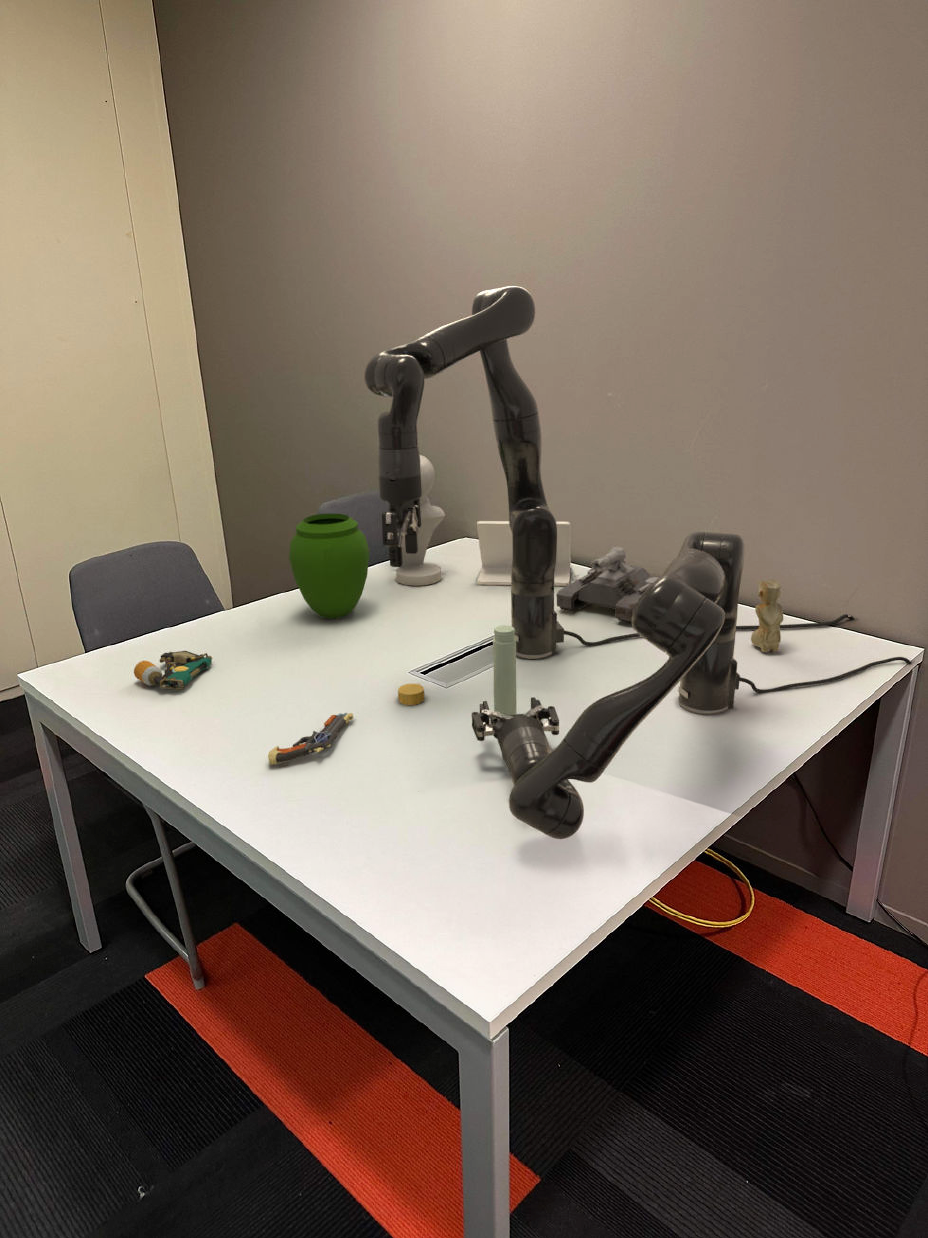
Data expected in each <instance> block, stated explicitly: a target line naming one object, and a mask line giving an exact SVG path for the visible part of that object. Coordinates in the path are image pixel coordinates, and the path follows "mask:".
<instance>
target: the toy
mask: <svg viewBox="0 0 928 1238" xmlns="http://www.w3.org/2000/svg"><path fill="white" fill-rule="evenodd" d="M626 557H627V556H626V551H625V549H624V548H622V547H621V546H614V547H612V548H611V549H610V550H609V552H608V553H607V554H605V555H604V556H601V557H599V558H598V559H597V557H596V558H594V559H593V560H592V561H590V562H589V563H590V564H591V565H592V567H591V568H590V569H589V570H587V573H586V575H584V576H582V577H580V578H578V579H577V580H575V581H573V582H570V583H569V585H567V586H563V587H562V588H560V589H559V590H558V591H557V592H556V607H558V608H559V609H560V610H562V611H566V612H572V613H575V612H577V611H579V610H581V609H582V608H585V607H586V606H588V605H592V606H598V607H602V608H603V607H604V608H609V609H613V610H614V618H615V619H617V620H618V621H621V622H626V623H631V618H632V613H633V610H634V607H635V605H636V603H637V601H638V600H639V598H640V597H641V595H642V594H643V593H644V591H645V590H646V589H647V588H648V587H649V586H650V585H651V584H652V583H653V582H655V581H656V580H657V579H658V578H660V577H661V576H662V575H656V576H655V577H654V576H651V574H650V573H649V572H648V571H647V570H646V568H644V567H641V566H635V565H629V564H628V563H627V562H626V561H625V559H626ZM631 624H632V623H631Z"/></svg>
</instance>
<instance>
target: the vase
mask: <svg viewBox="0 0 928 1238" xmlns="http://www.w3.org/2000/svg"><path fill="white" fill-rule="evenodd" d="M358 524H359V523H358V521H356V520H355V519H353V518H352V517H350V516H349V515H347V514H344V513H335V512H334V513H333V512H331V513H320V514H313V515H310V516H307V517H305V518H303V519H302V520H301V521H300V522H299V523H298V524H297V525H296V526H295V532H296V533H295V534H294V536H293V537H292V538H291V540H290V542H289V551H288V559H289V564H290V566H291V567H290V568H291V570H292V575H293V578H294V581H295V584H296V586H297V587H298V589H299V591H300V593H301V596H302V597H303V600H304V601H305V603H306V604H307V605H308V607H309V608H310V609H311V611H312V612H314V613H315V614H316V615H317V616H318V617H320V618H324V619H326V620H327V619H329V620H336V619H341V618H345V617H347V616H349V615H350V614H351V613H352V612H353V611H354V610H355V608H356V607H357V605H358V604H359V601H360V599H361V597H362V595H363V592H364V588H365V586H366V581H367V578H368V570H369V561H370V560H369V559H370V548H369V545H368V541H367V537H366V535H365V534H364V533H363V532H362V531H361V530H360V529H359V527H358Z"/></svg>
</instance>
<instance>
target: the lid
mask: <svg viewBox="0 0 928 1238" xmlns="http://www.w3.org/2000/svg"><path fill="white" fill-rule="evenodd" d="M397 698H398V699H397V700H398V702H399V703H400V704H402V705H405V706H416V705H419V704H422V703H423V702H424V701H425V699H426V697H425V688H424V686H423V685H421V684H419V683H405V684H402V685H401V686H399V687H398V689H397Z"/></svg>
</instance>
